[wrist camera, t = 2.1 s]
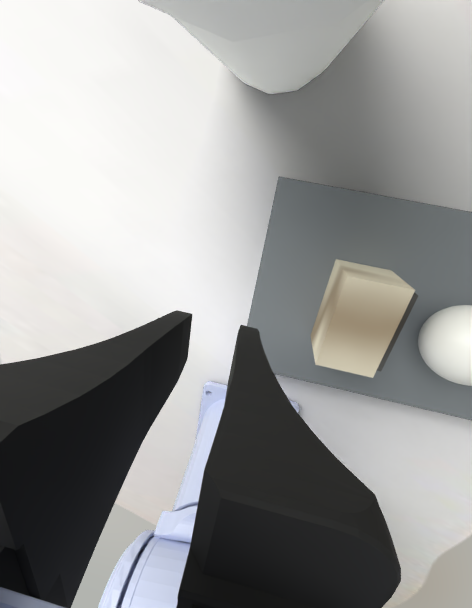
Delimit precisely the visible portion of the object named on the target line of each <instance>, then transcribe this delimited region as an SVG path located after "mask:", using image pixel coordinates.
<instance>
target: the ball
mask: <svg viewBox="0 0 472 608" xmlns="http://www.w3.org/2000/svg"><path fill="white" fill-rule="evenodd" d="M418 347H419V351H420V354H421V356H422V358H423V360H424V361H425V363H426V364H427V365H428V366H429V368H430V369H431V370H432V371H434V372H435V373H436V374H438V375H439V376H441V377H443V378H444V379H446V380H449V381H451V382H454V383H457V384H462V385H468V386H472V305H458V306H451V307H448V308H445V309H442V310H440V311H438V312H436V313H435V314H433V315H432V316H430V317H429V318H428V319H427V320H426V322H425V323H424V324H423V326H422V327H421V330H420V332H419V336H418Z"/></svg>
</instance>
